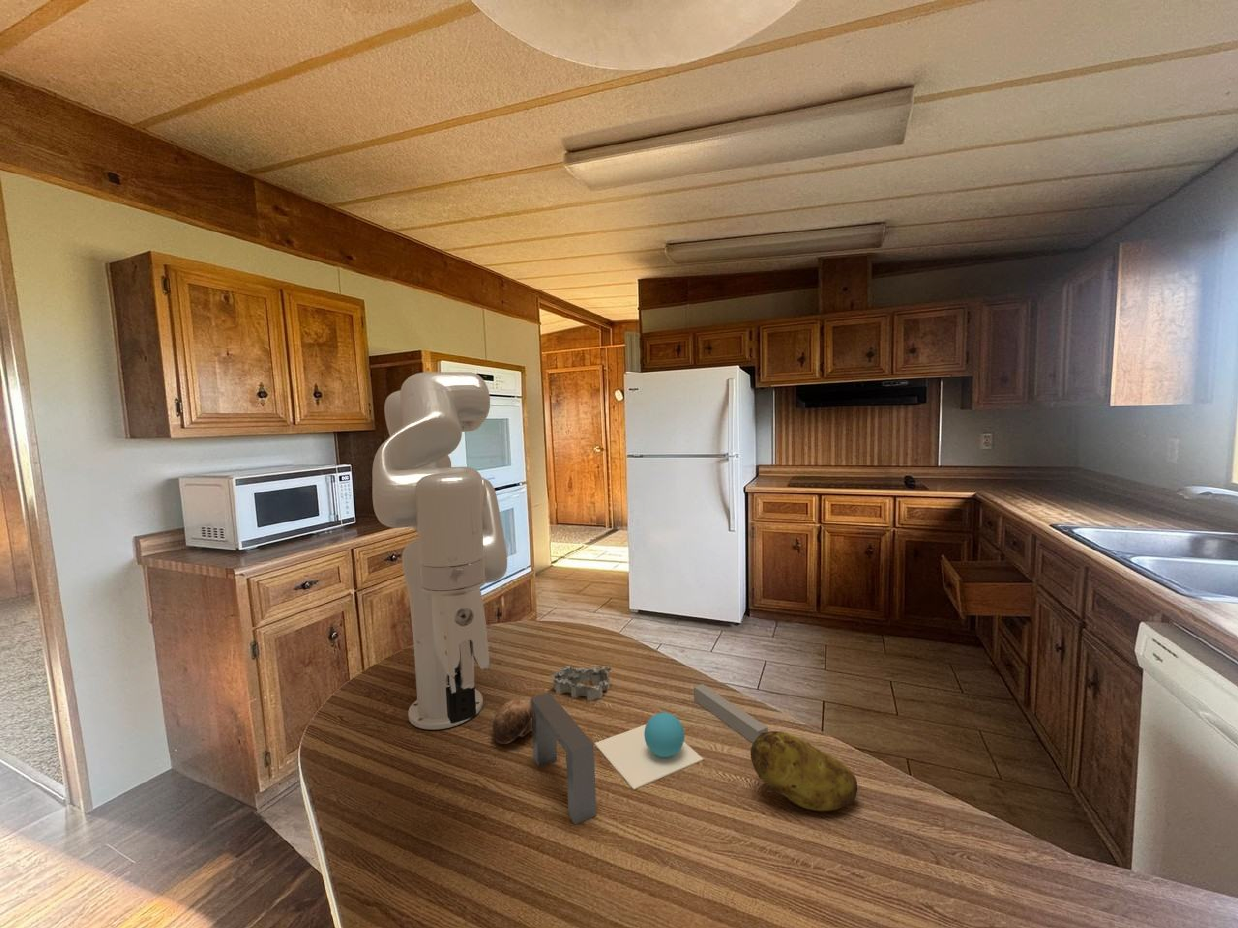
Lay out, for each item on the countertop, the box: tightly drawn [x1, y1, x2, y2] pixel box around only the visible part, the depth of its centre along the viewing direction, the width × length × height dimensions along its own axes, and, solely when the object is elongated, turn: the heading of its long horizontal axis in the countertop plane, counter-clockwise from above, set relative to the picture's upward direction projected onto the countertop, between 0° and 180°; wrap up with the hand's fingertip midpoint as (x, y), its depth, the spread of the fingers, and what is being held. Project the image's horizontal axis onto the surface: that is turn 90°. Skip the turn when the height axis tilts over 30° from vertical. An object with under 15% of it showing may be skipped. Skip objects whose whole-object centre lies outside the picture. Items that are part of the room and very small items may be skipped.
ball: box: [644, 712, 685, 757], centre depth 79 cm, size 6×6×6 cm
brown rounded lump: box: [492, 697, 532, 745], centre depth 85 cm, size 8×8×6 cm
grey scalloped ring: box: [550, 665, 612, 702], centre depth 99 cm, size 10×7×4 cm
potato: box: [749, 730, 859, 812], centre depth 69 cm, size 8×13×8 cm, turn 58°
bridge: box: [530, 692, 597, 826], centre depth 73 cm, size 3×15×10 cm, turn 29°
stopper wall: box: [693, 683, 769, 744], centre depth 88 cm, size 16×2×2 cm, turn 29°
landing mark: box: [594, 724, 704, 790], centre depth 80 cm, size 12×12×1 cm
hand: (461, 716), depth 66 cm, fingers closed
